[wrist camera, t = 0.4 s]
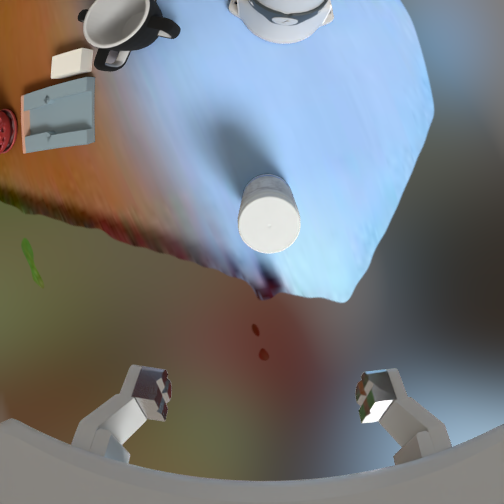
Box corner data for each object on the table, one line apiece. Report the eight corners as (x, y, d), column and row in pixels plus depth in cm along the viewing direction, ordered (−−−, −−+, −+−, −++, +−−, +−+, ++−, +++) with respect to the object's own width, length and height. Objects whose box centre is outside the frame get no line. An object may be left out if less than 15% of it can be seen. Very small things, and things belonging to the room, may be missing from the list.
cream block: (64, 57, 40) (52, 56, 36) (93, 50, 40) (82, 47, 36) (63, 78, 42) (50, 78, 38) (91, 71, 42) (80, 70, 38)
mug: (172, -16, 33) (152, -40, 23) (191, 46, 41) (172, 32, 30) (99, 17, 36) (67, 6, 25) (114, 78, 43) (81, 76, 33)
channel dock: (29, 95, 42) (21, 96, 40) (94, 77, 43) (86, 76, 40) (31, 150, 49) (23, 153, 46) (95, 141, 49) (87, 144, 47)
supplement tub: (294, 215, 57) (305, 251, 44) (247, 223, 58) (244, 260, 45) (287, 168, 52) (297, 190, 39) (238, 176, 53) (230, 201, 40)
